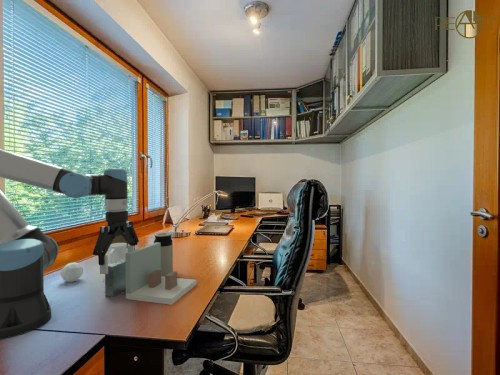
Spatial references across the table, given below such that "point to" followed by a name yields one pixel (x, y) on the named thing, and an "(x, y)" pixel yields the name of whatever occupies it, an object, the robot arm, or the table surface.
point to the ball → (72, 272)
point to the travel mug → (165, 252)
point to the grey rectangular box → (115, 279)
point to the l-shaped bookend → (152, 277)
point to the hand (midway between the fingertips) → (118, 267)
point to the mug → (116, 252)
